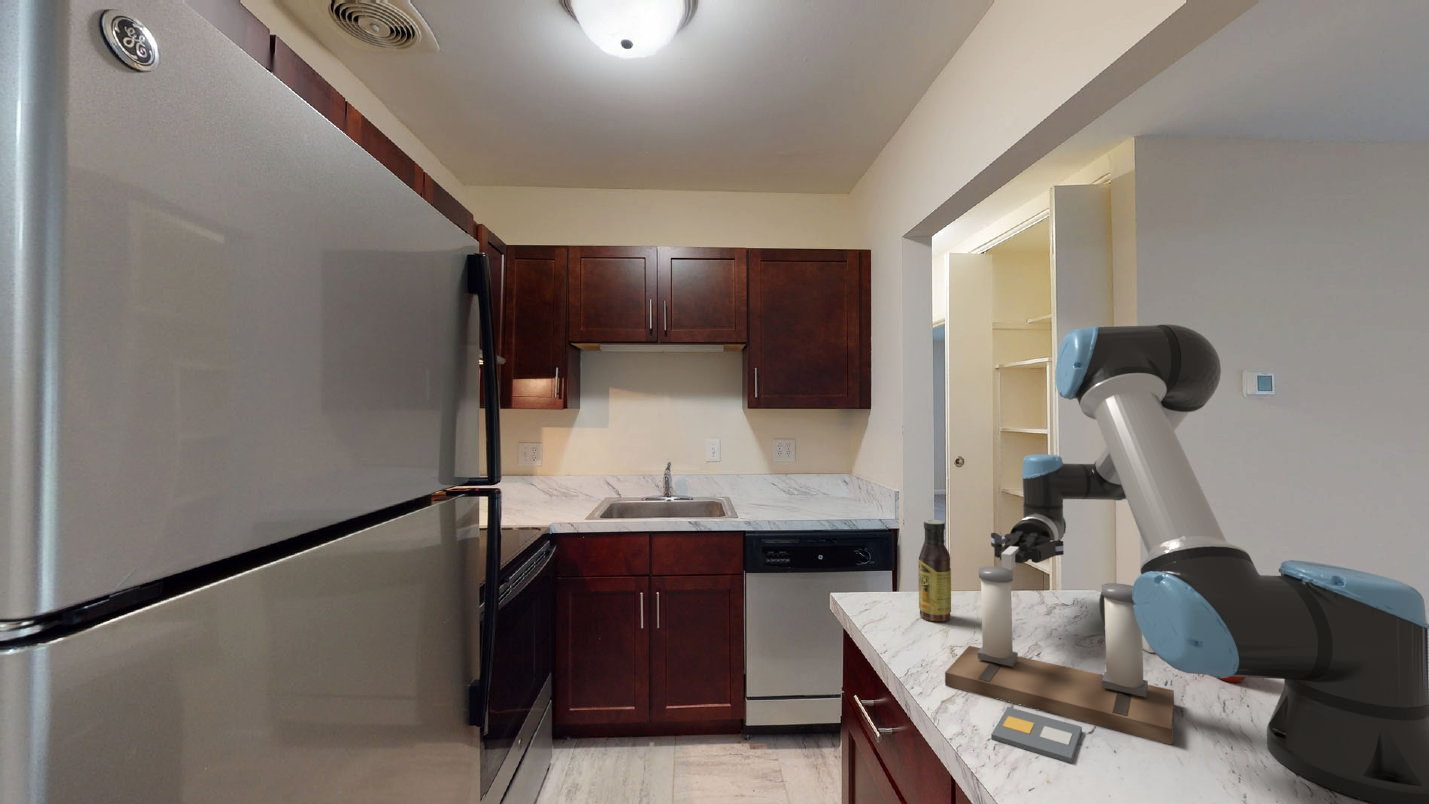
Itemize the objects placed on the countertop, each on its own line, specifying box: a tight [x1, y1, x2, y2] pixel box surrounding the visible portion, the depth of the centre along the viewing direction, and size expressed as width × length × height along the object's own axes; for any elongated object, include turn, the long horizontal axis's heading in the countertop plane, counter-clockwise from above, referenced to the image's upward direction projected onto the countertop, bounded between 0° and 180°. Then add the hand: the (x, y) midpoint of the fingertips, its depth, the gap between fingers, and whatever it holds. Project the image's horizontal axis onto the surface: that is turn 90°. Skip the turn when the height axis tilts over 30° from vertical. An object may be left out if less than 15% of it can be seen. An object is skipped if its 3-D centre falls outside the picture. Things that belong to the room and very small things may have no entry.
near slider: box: [1101, 582, 1149, 697], centre depth 86 cm, size 5×5×14 cm
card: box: [990, 706, 1083, 764], centre depth 79 cm, size 9×9×1 cm
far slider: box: [978, 565, 1019, 667], centre depth 97 cm, size 5×5×14 cm
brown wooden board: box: [944, 645, 1175, 746], centre depth 90 cm, size 28×13×2 cm, turn 52°
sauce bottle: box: [918, 519, 952, 623], centre depth 123 cm, size 6×6×20 cm
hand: (1006, 561), depth 103 cm, fingers closed
